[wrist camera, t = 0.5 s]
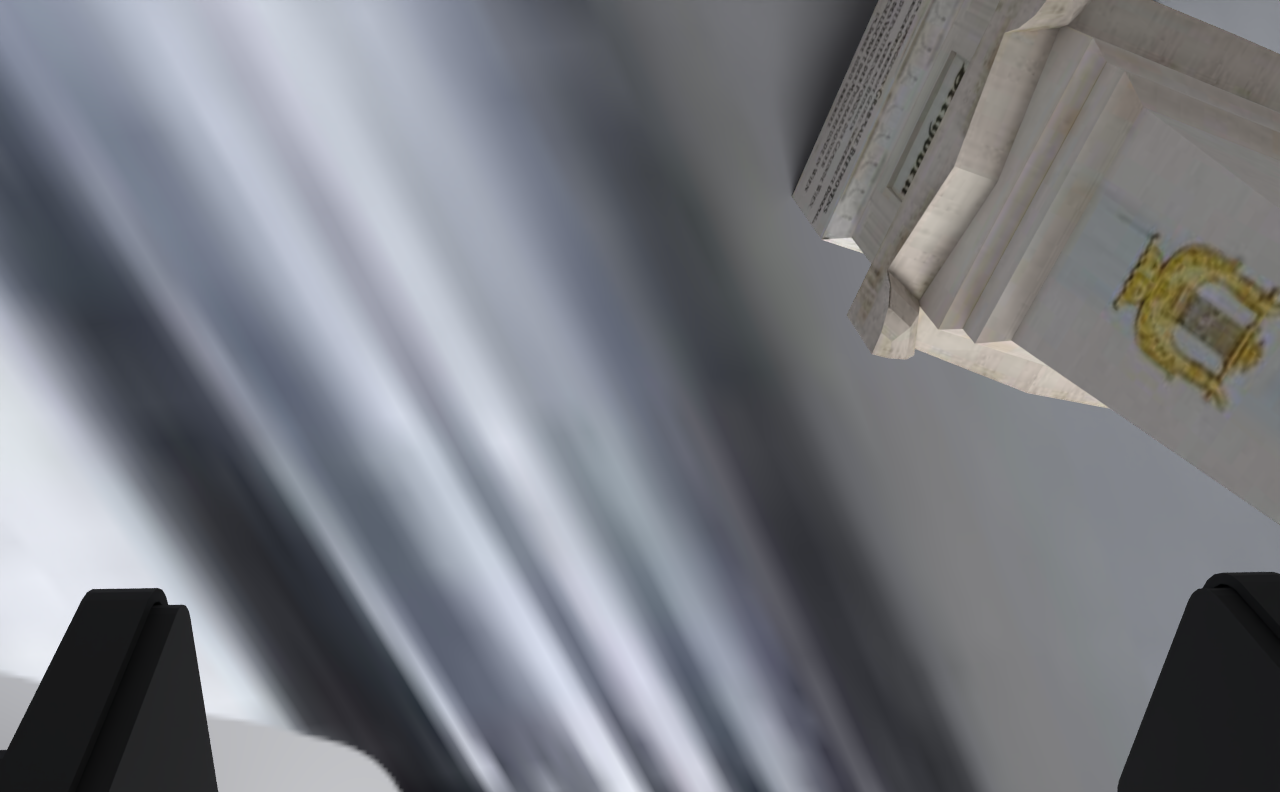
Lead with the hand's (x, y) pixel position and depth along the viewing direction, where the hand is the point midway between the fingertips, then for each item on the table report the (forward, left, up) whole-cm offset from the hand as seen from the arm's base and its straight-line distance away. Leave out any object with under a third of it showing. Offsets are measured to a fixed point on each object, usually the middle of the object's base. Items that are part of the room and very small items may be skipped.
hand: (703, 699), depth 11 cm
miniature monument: (-9, +12, -31) cm, 34 cm away
